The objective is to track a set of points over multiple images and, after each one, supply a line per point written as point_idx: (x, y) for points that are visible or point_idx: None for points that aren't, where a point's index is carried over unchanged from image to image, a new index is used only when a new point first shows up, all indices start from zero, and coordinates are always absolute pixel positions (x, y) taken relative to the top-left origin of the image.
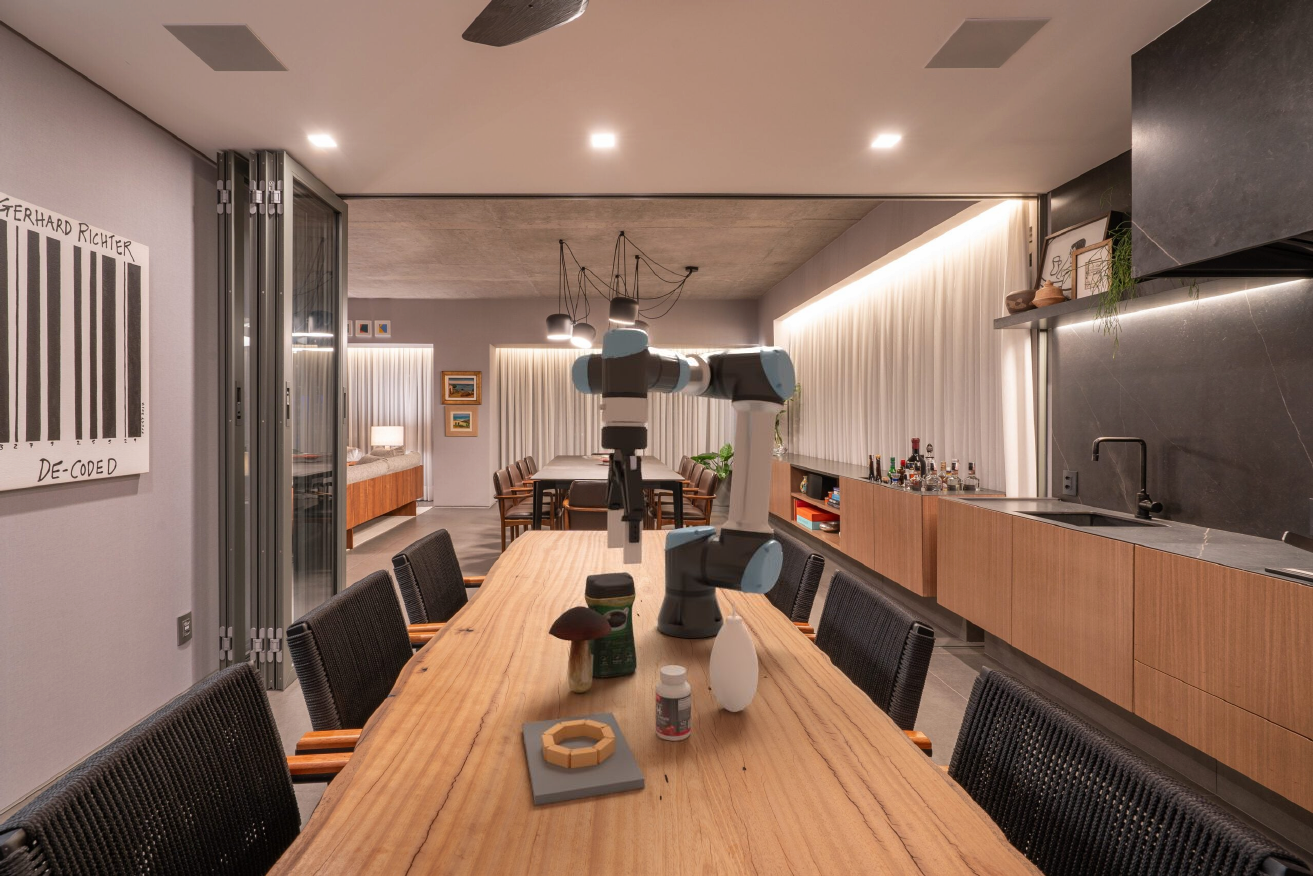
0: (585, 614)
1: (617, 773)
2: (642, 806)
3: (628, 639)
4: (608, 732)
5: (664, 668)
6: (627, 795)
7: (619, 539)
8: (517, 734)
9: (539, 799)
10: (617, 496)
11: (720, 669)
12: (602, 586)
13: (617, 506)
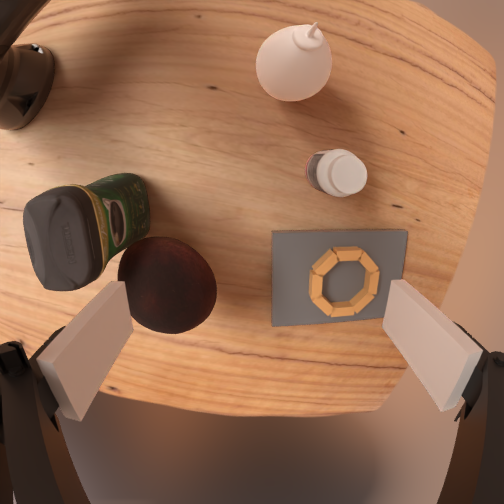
0: (176, 298)
1: (393, 252)
2: (422, 237)
3: (127, 192)
4: (350, 255)
5: (342, 185)
6: (407, 245)
7: (114, 308)
8: (276, 326)
9: None
10: (62, 461)
11: (315, 91)
12: (90, 266)
13: (40, 394)
